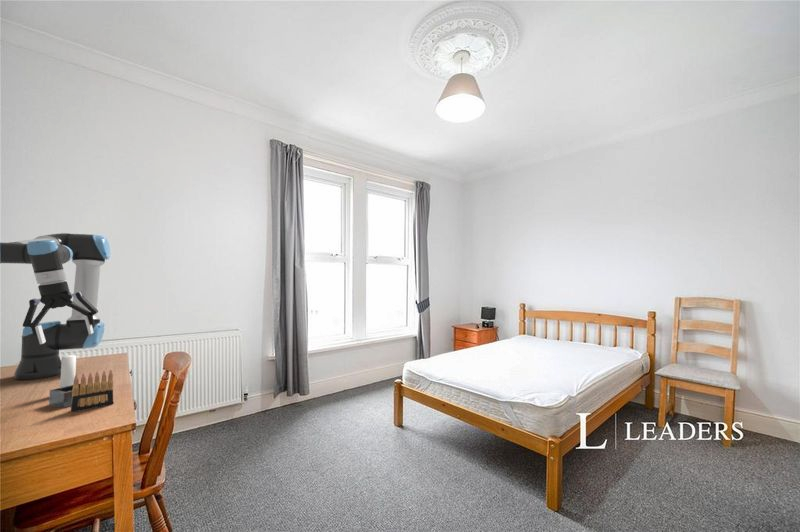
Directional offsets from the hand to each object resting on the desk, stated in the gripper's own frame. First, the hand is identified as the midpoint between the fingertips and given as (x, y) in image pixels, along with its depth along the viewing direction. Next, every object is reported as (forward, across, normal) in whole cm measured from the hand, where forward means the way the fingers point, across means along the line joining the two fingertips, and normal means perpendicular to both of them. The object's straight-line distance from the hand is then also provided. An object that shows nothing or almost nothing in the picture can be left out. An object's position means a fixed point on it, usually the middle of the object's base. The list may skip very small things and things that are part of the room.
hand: (67, 338), depth 126 cm
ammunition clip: (+22, +8, -20) cm, 30 cm away
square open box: (+21, 0, -11) cm, 23 cm away
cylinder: (+21, -5, +1) cm, 22 cm away
